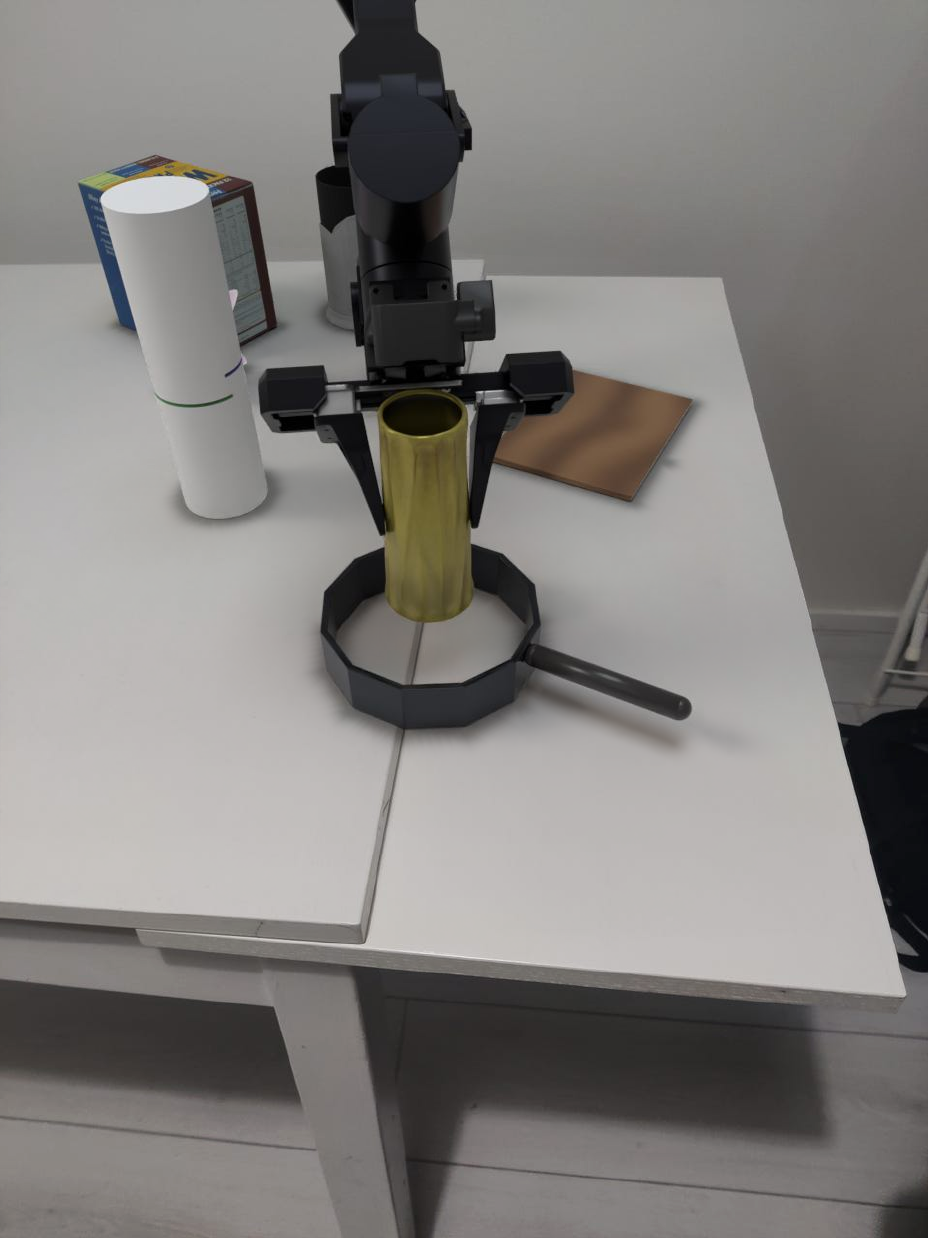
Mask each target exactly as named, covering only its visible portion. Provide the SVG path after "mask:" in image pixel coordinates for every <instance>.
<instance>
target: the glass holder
mask: <svg viewBox="0 0 928 1238" xmlns="http://www.w3.org/2000/svg"><path fill="white" fill-rule="evenodd" d="M314 177H315V187H316V194H317V203H318V211H319V212H318V213H319V220H320V222H319V223H318V227H319V234H320V243H321V251H322V259H323V270H324V277H325V285H326V293H327V294H326V295H327V308H326V311H325V318H326V320H327V321H328V322H329V323H330V324H332V325H333V326H335V327H338V328H340V329H344V330H349V331H354V323H353V314H352V304H351V291H350V282H357V272H356V261H357V257H358V255H359V253H358V242H357V230H356V218H355V209H354V204H353V195H352V186H351V177H350V174H349V169H348V167H335V164H334V165H333V164H327V165H325V166H324V168H322V169H320V170H319V171H317V173H316V174H315V175H314Z"/></svg>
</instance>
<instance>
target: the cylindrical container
mask: <svg viewBox="0 0 928 1238" xmlns="http://www.w3.org/2000/svg"><path fill="white" fill-rule="evenodd" d="M100 201H101V205H102V208H103V212H104V215H105V219H106V222H107V226H108V230H109V233H110V237H111V240H112V244H113V247H114V251H115V254H116V258H117V262H118V265H119V269H120V272H121V276H122V279H123V283H124V286H125V290H126V293H127V297H128V301H129V304H130V308H131V311H132V315H133V318H134V322H135V325H136V329H137V331H136V333H137V336H138V339H139V343H140V346H141V350H142V355H143V357H144V360H145V364H146V365H145V366H146V368H147V371H148V375H149V379H150V382H151V385H152V389H153V392H154V397H155V400H156V403H157V407H158V411H159V413H160V417H161V421H162V424H163V428H164V432H165V435H166V439H167V443H168V445H169V450H170V453H171V457H172V460H173V464H174V468H175V471H176V475H177V479H178V481H179V485H180V489H181V492H182V496H183V499H184V503H185V506H186V508H188V510H189V511H190V512H192V513H193V514H194V515H197V516H199V517H201V518H206V519H212V520H213V519H214V520H224V519H231V518H232V519H233V518H236V517H240V516H243V515H245V514H247V513H251V512H252V511H254V510H255V509H257V508H258V507H259V506H260V505H262V503H263V502H264V501H265V499H266V497H268V496H267V495H268V492H269V491H268V490H269V489H268V483H267V478H266V473H265V467H264V463H263V457H262V453H261V447H260V443H259V437H258V432H257V426H256V421H255V416H254V413H253V406H252V402H251V396H250V392H249V391H250V390H249V386H248V381H247V376H246V372H245V367H244V366H245V365H243V361H242V356H241V353H242V352H241V345H239V340H238V335H237V330H236V325H235V320H234V315H233V310H232V304H231V299H230V294H229V289H228V284H227V279H226V274H225V269H224V264H223V259H222V253H221V248H220V243H219V238H218V233H217V228H216V223H215V218H214V213H213V208H212V203H211V198H210V193H209V188H208V186H207V185H206V184H205V183H203V182H201V181H199V180H196V179H192V178H187V177H179V176H158V177H148V178H141V179H136V180H131V181H128V182H124V183H121V184H119V185H116V186H114V187H112V188H110V189H108V190H107V191H106V192H104V193H103V195H102V196H101V200H100Z"/></svg>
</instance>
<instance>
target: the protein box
mask: <svg viewBox="0 0 928 1238" xmlns="http://www.w3.org/2000/svg"><path fill="white" fill-rule="evenodd" d="M158 176H179V177H187V178H192V179H196V180H199V181H201V182H203V183H205V184H206V185H207V186H208V188H209V193H210V198H211V203H212V208H213V213H214V218H215V223H216V228H217V233H218V238H219V243H220V248H221V253H222V259H223V264H224V269H225V274H226V279H227V284H228V289H229V291H230V290H234V289H235V290H237V291H238V295H237V299H236V303H235V306H234V308H233V315H234V320H235V325H236V330H237V335H238V340H239V345H240V346H242V345H244V344H245V343H247V342H249V341H251V340H253V339H255V338H257V337H258V336H260V335H262V334H265V333H266V332H267V331H270V330H272V329H273V328H275V327H277V326H278V322H277V315H276V309H275V305H274V298H273V293H272V286H271V280H270V275H269V268H268V262H267V257H266V251H265V246H264V238H263V233H262V225H261V220H260V216H259V210H258V202H257V198H256V190H255V186H254V182H253V181H251V180H247V179H244V178H241V177H236V176H233V175H229V174H225V173H221V172H218V171H214V170H210V169H207V168H204V167H200V166H197V165H194V164H189V163H187V162H183V161H178V160H175V159H171V158H168V157H165V156H161V155H158V154H153V155H150V156H148V157H145V158H142V159H139V160H136V161H132V162H129V163H128V164H124V165H121V166H118V167H116V168H113V169H110V170H107V171H104V172H103V171H102V172H101V173H98V174H97V173H96V174H95V175H92V176H89V177H86V178H83V179H80V180H78V181H77V182H76V183H77V185H78V189H79V192H80V196H81V199H82V202H83V205H84V209H85V212H86V215H87V218H88V222H89V225H90V229H91V232H92V236H93V239H94V241H95V242H94V243H95V245H96V249H97V253H98V256H99V259H100V262H101V266H102V269H103V272H104V276H105V279H106V282H107V285H108V289H109V292H110V296H111V299H112V303H113V307H114V309H115V312H116V316H117V320H118V323H119V325H122V326H123V327H125V328H126V327H127V328H129V329H131V330H134V331H136V332H137V329H136V325H135V322H134V318H133V315H132V311H131V308H130V304H129V301H128V297H127V293H126V290H125V286H124V283H123V279H122V276H121V272H120V269H119V265H118V262H117V258H116V254H115V251H114V247H113V244H112V240H111V237H110V233H109V230H108V226H107V222H106V219H105V215H104V212H103V208H102V205H101V201H100V200H101V196H102V195H103V193H104V192H106V191H107V190H108V189H110V188H112V187H114V186H116V185H119V184H121V183H124V182H128V181H131V180H136V179H141V178H148V177H158Z"/></svg>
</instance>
